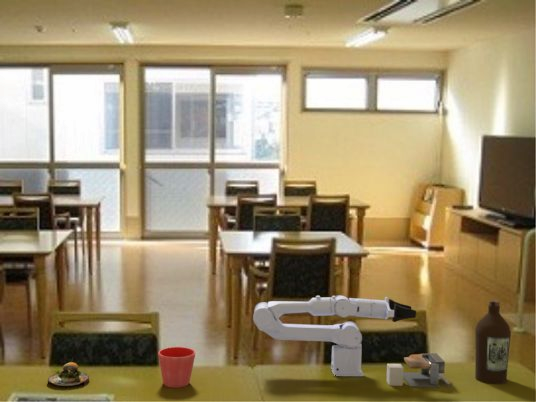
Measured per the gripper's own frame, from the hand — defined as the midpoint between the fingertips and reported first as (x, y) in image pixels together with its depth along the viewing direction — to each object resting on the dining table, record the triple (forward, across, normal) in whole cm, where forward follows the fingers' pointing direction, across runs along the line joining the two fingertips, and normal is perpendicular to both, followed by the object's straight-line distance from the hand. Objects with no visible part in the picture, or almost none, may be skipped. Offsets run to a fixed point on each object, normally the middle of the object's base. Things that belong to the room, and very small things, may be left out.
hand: (413, 311), depth 221 cm
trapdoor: (+4, -4, +17) cm, 18 cm away
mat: (+3, -4, +20) cm, 21 cm away
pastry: (+7, +12, +20) cm, 24 cm away
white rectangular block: (-6, -8, +18) cm, 21 cm away
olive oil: (+26, -2, +19) cm, 32 cm away
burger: (-104, -15, +28) cm, 108 cm away
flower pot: (-72, -13, +25) cm, 77 cm away
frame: (+8, -4, +20) cm, 22 cm away
